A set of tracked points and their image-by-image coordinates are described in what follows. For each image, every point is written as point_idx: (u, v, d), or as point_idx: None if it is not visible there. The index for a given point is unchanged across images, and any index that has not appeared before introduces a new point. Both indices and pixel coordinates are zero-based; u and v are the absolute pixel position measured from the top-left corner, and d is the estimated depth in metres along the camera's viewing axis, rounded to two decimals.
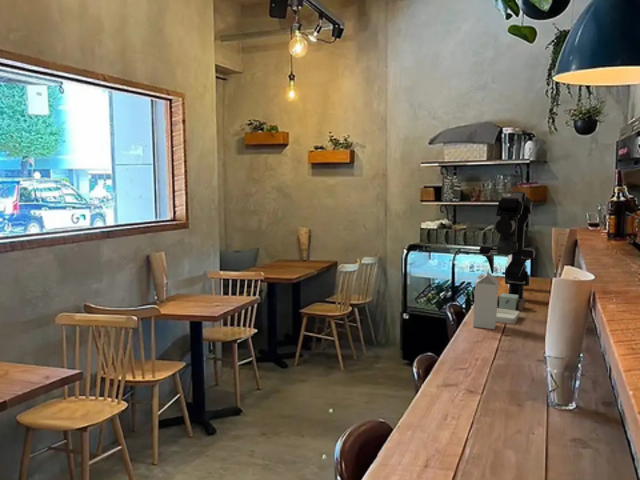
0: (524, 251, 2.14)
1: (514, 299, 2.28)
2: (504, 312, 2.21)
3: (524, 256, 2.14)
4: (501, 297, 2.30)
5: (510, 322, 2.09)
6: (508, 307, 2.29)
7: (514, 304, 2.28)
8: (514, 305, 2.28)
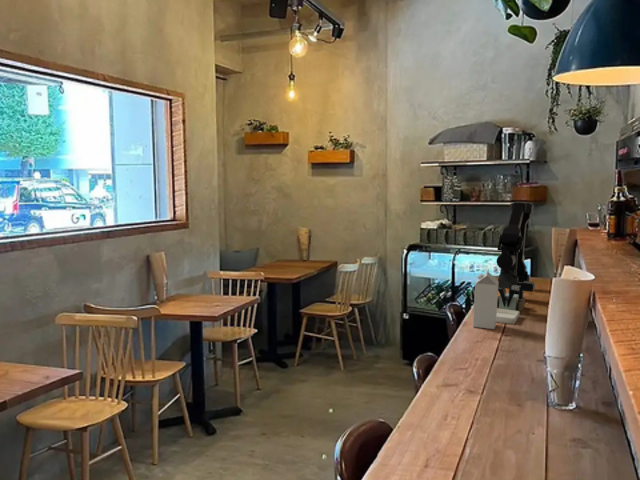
0: (524, 284, 2.21)
1: (514, 298, 2.28)
2: (504, 312, 2.21)
3: (524, 289, 2.21)
4: None
5: (510, 322, 2.09)
6: None
7: (514, 303, 2.28)
8: (514, 304, 2.28)
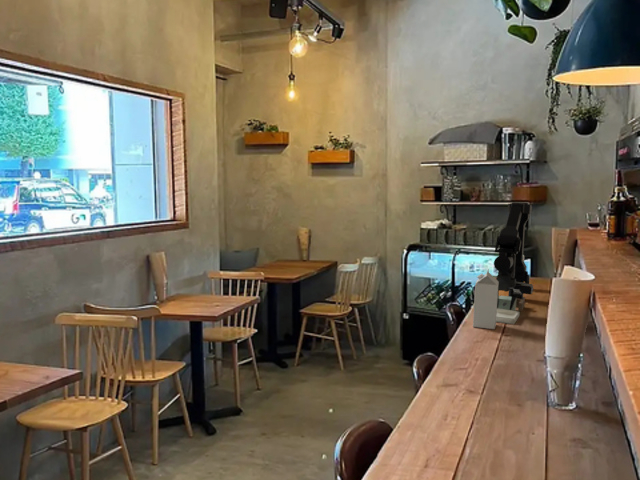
0: (522, 287, 2.17)
1: None
2: (504, 312, 2.21)
3: (522, 292, 2.17)
4: (499, 299, 2.26)
5: (510, 322, 2.09)
6: (506, 309, 2.25)
7: (512, 307, 2.24)
8: (512, 308, 2.24)
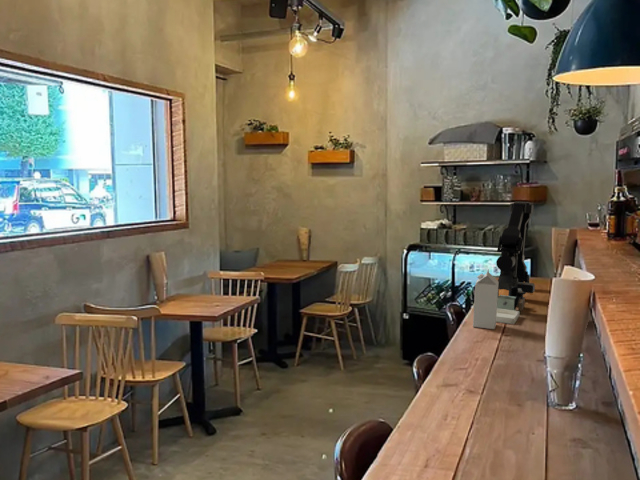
0: (524, 286, 2.21)
1: (512, 301, 2.24)
2: (504, 312, 2.21)
3: (524, 291, 2.21)
4: (499, 299, 2.26)
5: (510, 322, 2.09)
6: (506, 309, 2.25)
7: (512, 306, 2.24)
8: (512, 307, 2.24)
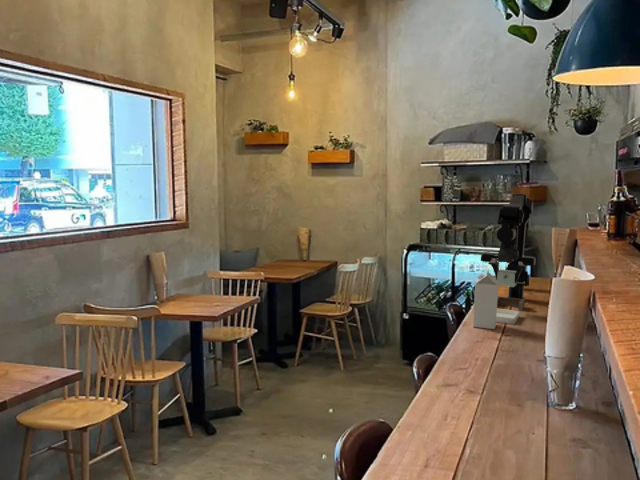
0: (525, 259, 2.17)
1: (513, 275, 2.20)
2: (504, 312, 2.21)
3: (525, 264, 2.17)
4: (499, 273, 2.22)
5: (510, 322, 2.09)
6: (507, 283, 2.21)
7: (513, 280, 2.20)
8: (513, 281, 2.20)
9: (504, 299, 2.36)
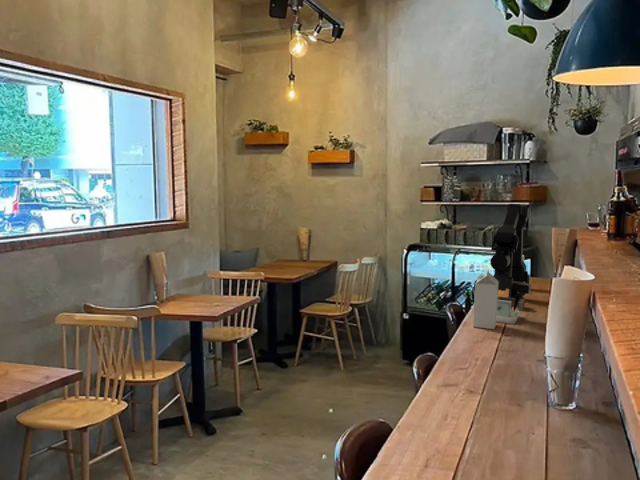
0: (519, 286, 2.11)
1: (507, 306, 2.14)
2: None
3: (519, 291, 2.11)
4: None
5: (510, 322, 2.09)
6: (501, 314, 2.15)
7: (507, 311, 2.14)
8: (507, 312, 2.14)
9: (504, 299, 2.36)
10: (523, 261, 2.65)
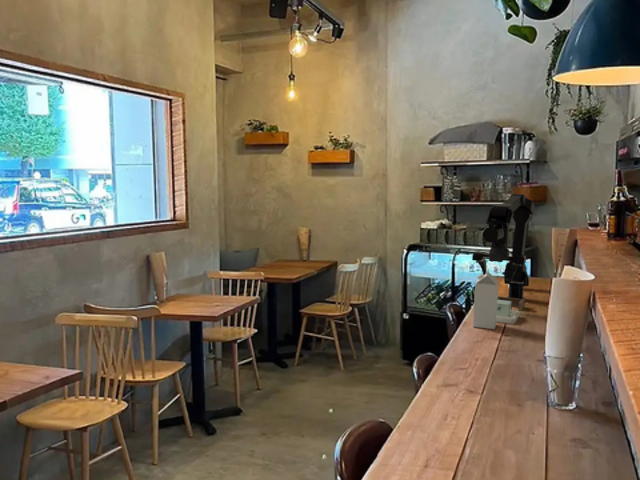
0: (515, 258, 2.21)
1: (507, 306, 2.14)
2: None
3: (515, 262, 2.21)
4: None
5: (510, 322, 2.09)
6: (501, 314, 2.15)
7: (507, 311, 2.14)
8: (507, 312, 2.14)
9: (504, 299, 2.36)
10: None
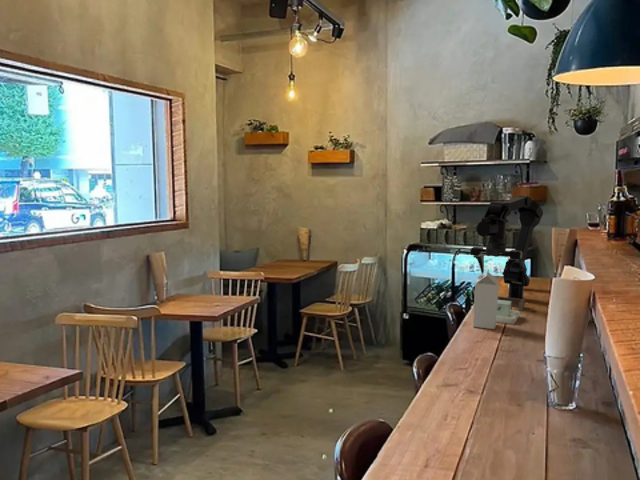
0: (512, 253, 2.28)
1: (507, 306, 2.14)
2: None
3: (512, 257, 2.28)
4: None
5: (510, 322, 2.09)
6: (501, 314, 2.15)
7: (507, 311, 2.14)
8: (507, 312, 2.14)
9: (504, 299, 2.36)
10: None
